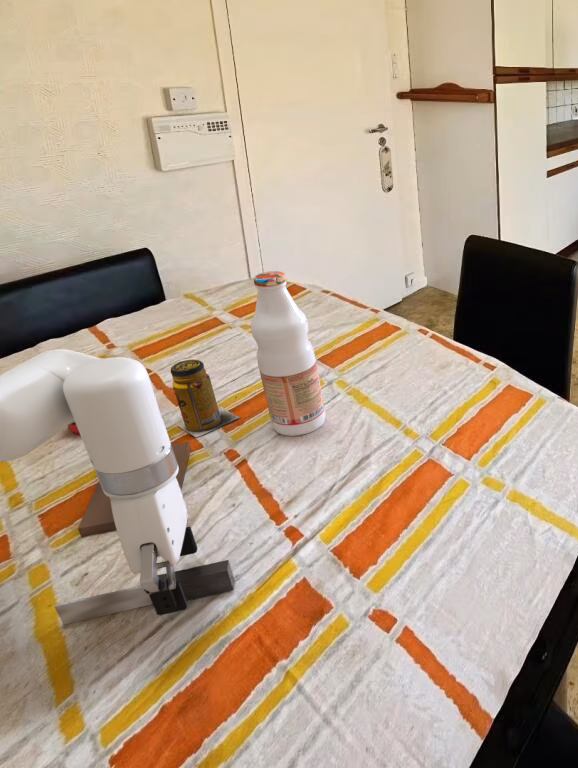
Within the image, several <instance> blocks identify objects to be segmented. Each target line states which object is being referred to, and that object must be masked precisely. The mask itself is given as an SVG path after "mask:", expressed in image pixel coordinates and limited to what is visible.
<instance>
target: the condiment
mask: <svg viewBox="0 0 578 768" xmlns="http://www.w3.org/2000/svg"><path fill="white" fill-rule="evenodd" d="M170 375H171V376H172V384H171V385H172V389H173V393H174V395H175V398H176V402H177V405H178V408H179V411H180V415H181V418H182V420H183V421H182V422H179V423H176V426H178V428H180V429H182V430H183V431H184V432H186V433H188V434H189V435H191V436H193V437H194V438H198V437H201V436H203V435H205V434H206V435H207V434H208V433H210V432H212V431H214V430H217V429H218V428H221V427H222V426H225V425H227V424H229V423H231V422H234V421H235V420H237V419H240V418H241V417H240V416H239V415H236V414H234V413H233V412H231V411H229V410H228V409H227V408H224V407H223V406H221V405H218V402H217V399H216V395H215V391H214V389H213V384H212V381H211V377H210V375H209V374H208V373H207V370H206V368H205V365H204V362H202V361H201V360H199V359H186V360H182V361H179V362H176V363H174V364H173V365H172V366H171V367H170Z"/></svg>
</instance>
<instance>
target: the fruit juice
mask: <svg viewBox="0 0 578 768" xmlns="http://www.w3.org/2000/svg"><path fill="white" fill-rule="evenodd" d="M253 285H254V287H255V289H256V290H257V295H256V303H255V308H254V314H253V316H252V319H251V321H250V332H251V335H252V338H253V340H254V342H255V343H256V345H257V350H256V360H257V361H256V362H257V367H258V372H259V375H260V379H261V383H262V387H263V391H264V396H265V401H266V405H267V409H268V414H269V418H270V421H271V426H272V428H273V429H274V431H275V432H276V433H277V434H279V435H283V436H289V437H296V436H303V435H307V434H309V433H312V432H314V431H316V430H318V429H319V428H321V427H322V425H324V423H325V421H326V409H325V403H324V398H323V392H322V387H321V386H322V385H321V381H320V376H319V370H318V365H317V358H316V355H315V350H314V346H313V345H312V343H311V341H310V340H309V337H308V336H309V322H308V318H307V316H306V314H305V313H304V312H303V311H302V310H301V308H299V307H298V305H297V303H296V302H295V300H294V299H293V297H292V295H291V294H290V292H289V290H288V289H287V286H286V285H287V277H286V274H285V273H284V272H283V271H278V270H277V271H276V270H275V271H274V270H273V271H272V270H271V271H264V272H261V273H257V274H256V275H254V277H253Z"/></svg>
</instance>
